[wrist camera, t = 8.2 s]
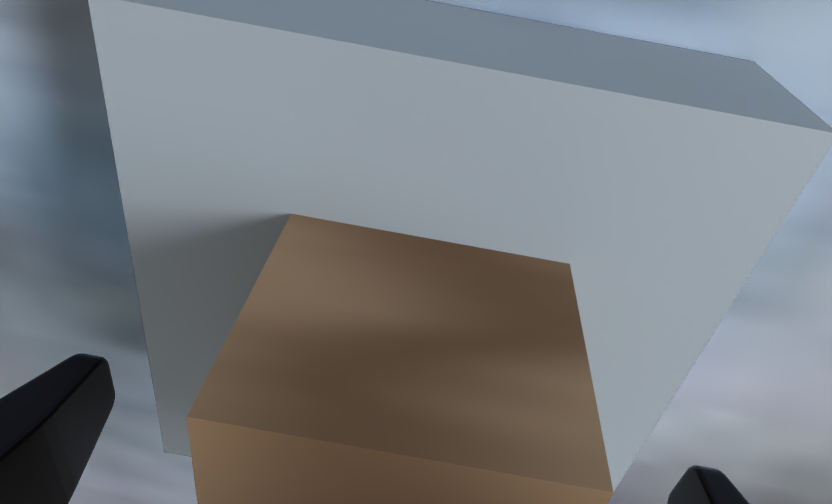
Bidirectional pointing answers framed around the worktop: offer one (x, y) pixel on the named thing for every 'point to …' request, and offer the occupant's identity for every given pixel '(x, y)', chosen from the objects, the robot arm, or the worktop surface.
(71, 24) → the worktop surface
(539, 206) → the base slab
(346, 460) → the walnut block
